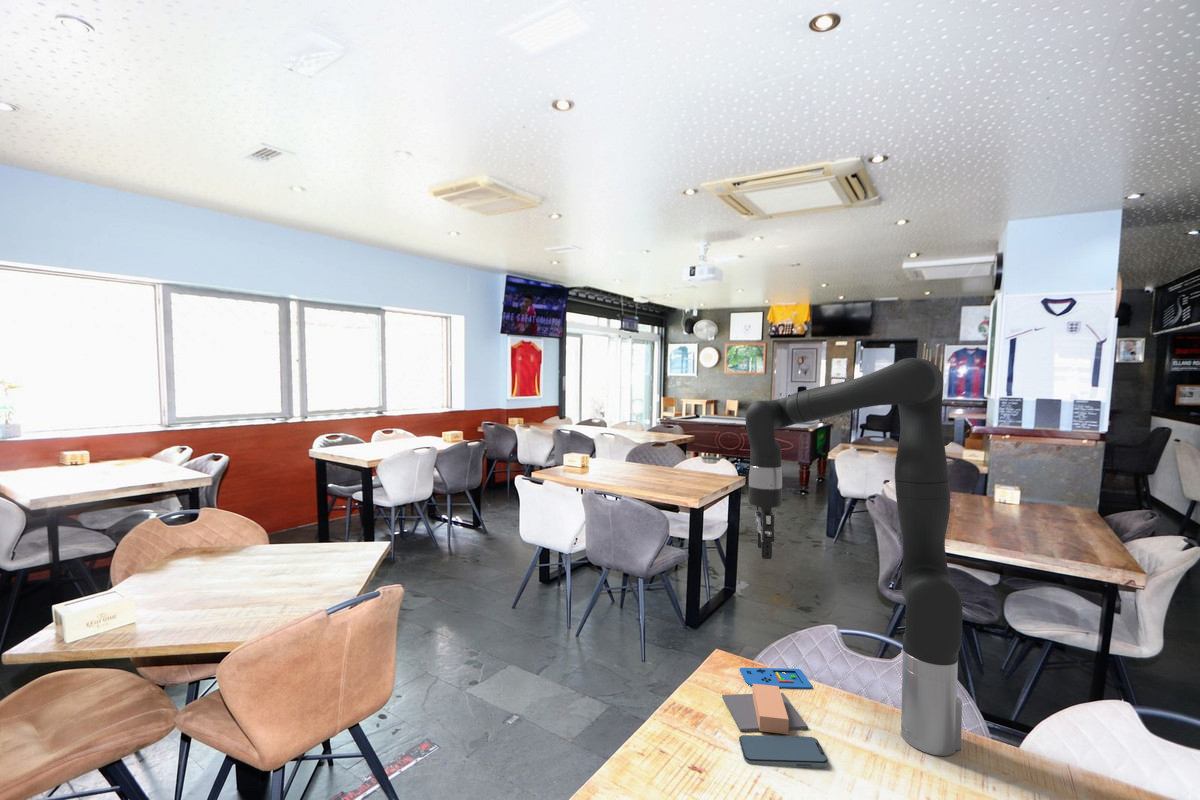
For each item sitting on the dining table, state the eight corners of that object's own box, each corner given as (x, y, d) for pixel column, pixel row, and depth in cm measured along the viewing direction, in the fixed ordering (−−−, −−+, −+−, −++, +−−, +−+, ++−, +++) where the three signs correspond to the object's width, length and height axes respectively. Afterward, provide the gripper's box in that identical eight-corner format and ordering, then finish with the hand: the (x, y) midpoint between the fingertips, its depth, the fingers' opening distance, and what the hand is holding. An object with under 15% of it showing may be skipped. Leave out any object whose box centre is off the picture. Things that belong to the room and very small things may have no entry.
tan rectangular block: (778, 686, 117) (788, 719, 105) (778, 699, 117) (788, 734, 105) (752, 683, 118) (759, 716, 106) (752, 697, 118) (759, 730, 106)
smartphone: (737, 733, 105) (816, 735, 104) (738, 742, 105) (816, 744, 104) (745, 759, 98) (829, 762, 97) (745, 768, 98) (829, 771, 97)
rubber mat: (783, 695, 120) (783, 692, 120) (807, 729, 108) (807, 726, 108) (722, 697, 119) (722, 694, 119) (740, 731, 107) (740, 728, 107)
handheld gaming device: (739, 666, 131) (800, 667, 131) (739, 670, 131) (800, 671, 131) (747, 684, 123) (813, 686, 123) (747, 689, 123) (813, 690, 123)
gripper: (786, 491, 118) (785, 563, 119) (777, 480, 132) (776, 545, 133) (751, 489, 120) (750, 561, 120) (746, 479, 134) (745, 543, 134)
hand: (764, 553), depth 126 cm, fingers open, 8 cm apart
